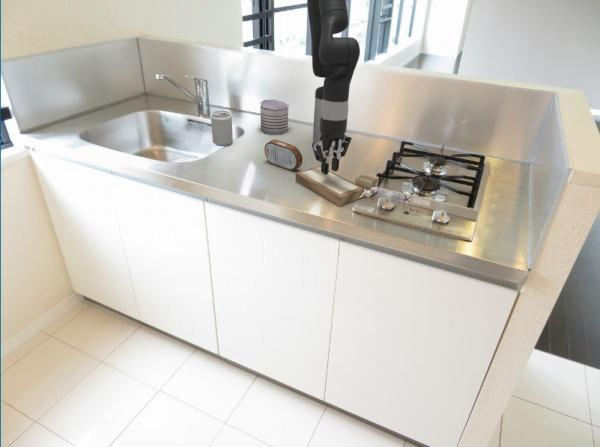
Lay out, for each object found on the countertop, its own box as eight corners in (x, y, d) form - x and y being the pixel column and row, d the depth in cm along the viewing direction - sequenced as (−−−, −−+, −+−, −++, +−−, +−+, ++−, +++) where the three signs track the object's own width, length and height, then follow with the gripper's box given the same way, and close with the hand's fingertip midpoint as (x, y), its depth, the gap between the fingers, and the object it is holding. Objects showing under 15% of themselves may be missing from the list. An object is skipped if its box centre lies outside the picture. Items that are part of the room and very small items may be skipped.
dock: (319, 174, 137) (319, 165, 135) (363, 197, 124) (364, 187, 122) (295, 181, 131) (295, 172, 130) (339, 206, 118) (339, 196, 116)
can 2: (280, 126, 178) (280, 98, 171) (293, 134, 169) (294, 105, 163) (255, 130, 172) (255, 100, 166) (268, 138, 164) (267, 108, 158)
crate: (362, 187, 130) (364, 172, 127) (376, 192, 127) (379, 177, 125) (354, 192, 126) (356, 177, 124) (368, 197, 124) (371, 182, 121)
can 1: (229, 148, 154) (227, 116, 148) (209, 145, 155) (207, 114, 149) (235, 141, 160) (234, 110, 154) (217, 139, 161) (215, 108, 155)
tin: (302, 171, 138) (303, 147, 134) (296, 174, 136) (297, 150, 132) (269, 159, 146) (269, 136, 142) (263, 161, 144) (262, 138, 140)
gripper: (343, 108, 122) (338, 163, 131) (306, 115, 114) (303, 173, 123) (361, 114, 117) (355, 171, 126) (324, 123, 109) (320, 182, 118)
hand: (329, 172), depth 124 cm, fingers open, 3 cm apart
